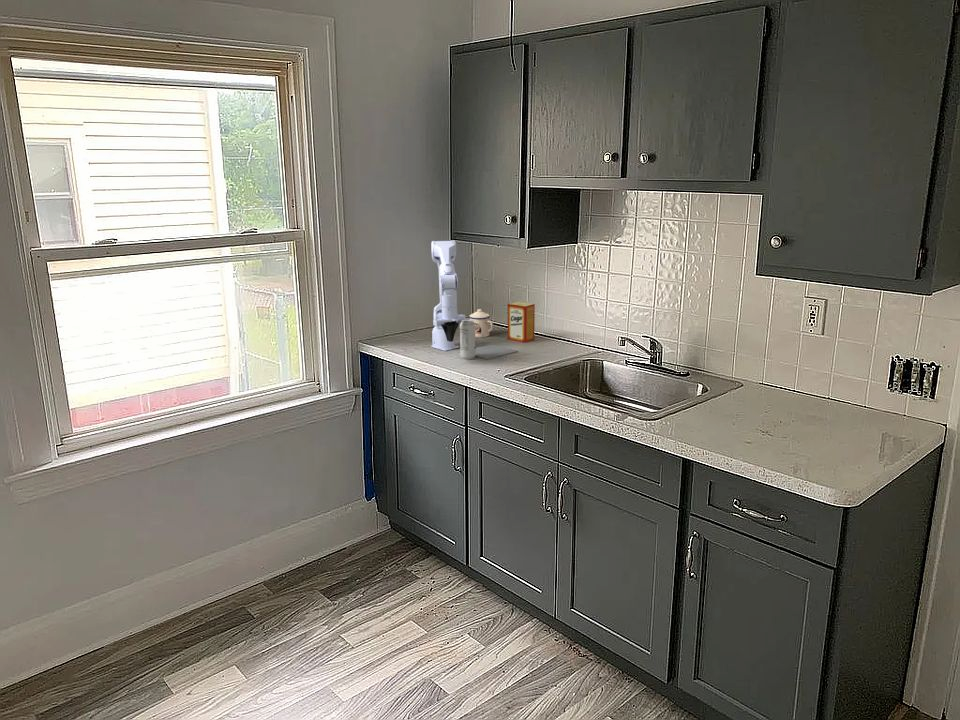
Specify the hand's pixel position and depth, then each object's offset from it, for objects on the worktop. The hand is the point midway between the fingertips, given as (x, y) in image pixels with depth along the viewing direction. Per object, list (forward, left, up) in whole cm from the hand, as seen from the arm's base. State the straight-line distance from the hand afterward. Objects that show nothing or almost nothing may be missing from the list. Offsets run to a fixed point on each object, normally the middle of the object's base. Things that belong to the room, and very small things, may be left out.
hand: (450, 341), depth 284 cm
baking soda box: (-6, +45, -9) cm, 46 cm away
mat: (0, +21, -8) cm, 23 cm away
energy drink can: (0, +9, -9) cm, 12 cm away
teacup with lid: (-23, +38, -9) cm, 45 cm away
